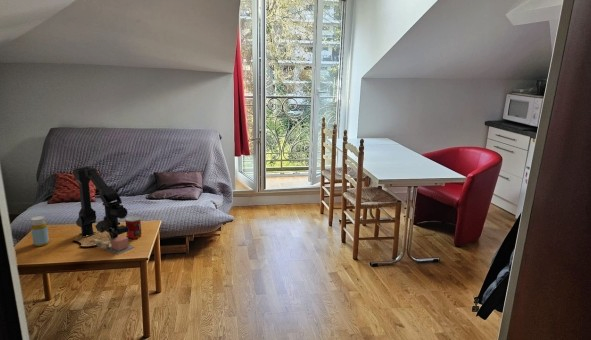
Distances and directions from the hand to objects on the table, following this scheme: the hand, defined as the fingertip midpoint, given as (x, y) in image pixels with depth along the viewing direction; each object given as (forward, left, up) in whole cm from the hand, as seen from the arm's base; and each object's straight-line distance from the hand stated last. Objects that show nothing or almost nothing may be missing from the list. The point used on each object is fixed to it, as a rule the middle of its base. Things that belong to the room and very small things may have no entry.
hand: (114, 241), depth 218 cm
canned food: (-2, +14, -3) cm, 14 cm away
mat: (+5, 0, -3) cm, 6 cm away
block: (+5, 0, -3) cm, 5 cm away
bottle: (-34, -20, -3) cm, 40 cm away
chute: (-5, 0, -3) cm, 6 cm away
